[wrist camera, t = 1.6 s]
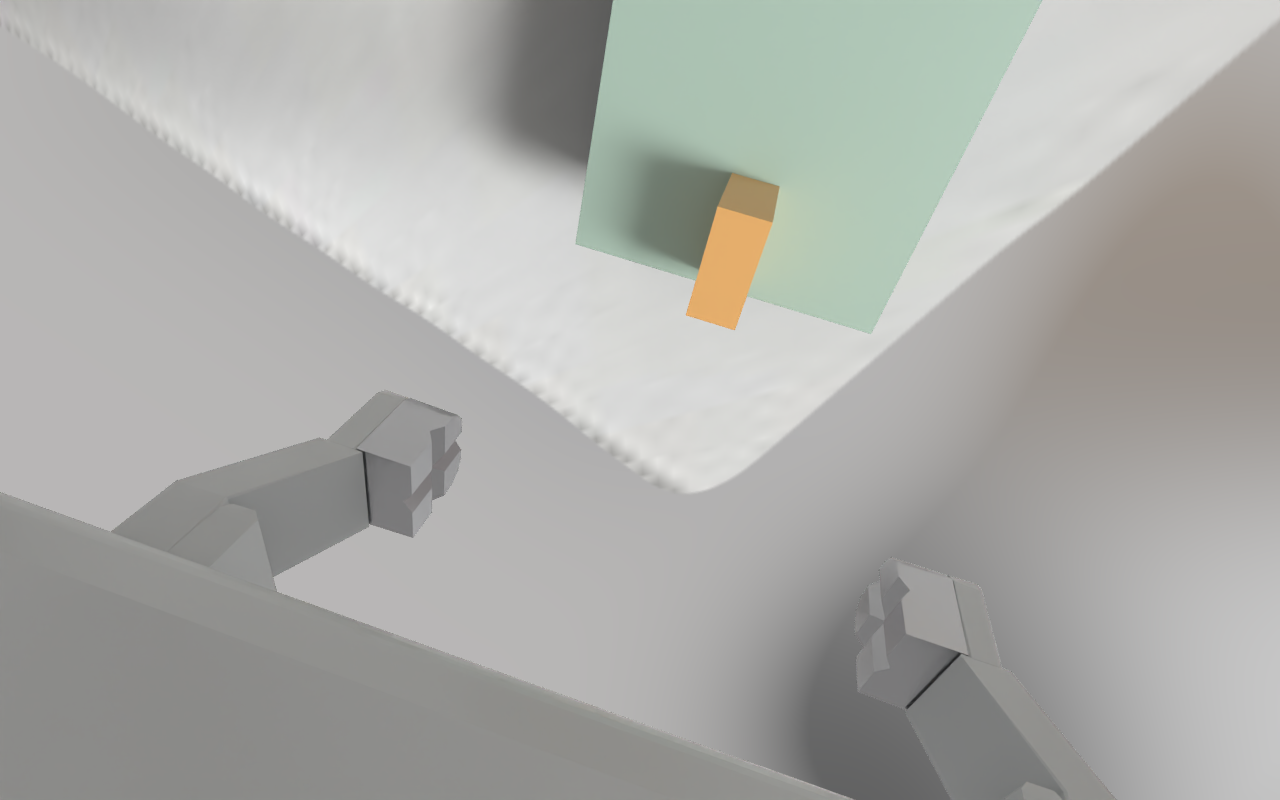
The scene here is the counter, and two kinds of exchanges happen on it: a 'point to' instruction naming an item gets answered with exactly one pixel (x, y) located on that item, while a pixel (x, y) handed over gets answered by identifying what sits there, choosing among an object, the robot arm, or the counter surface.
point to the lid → (787, 142)
